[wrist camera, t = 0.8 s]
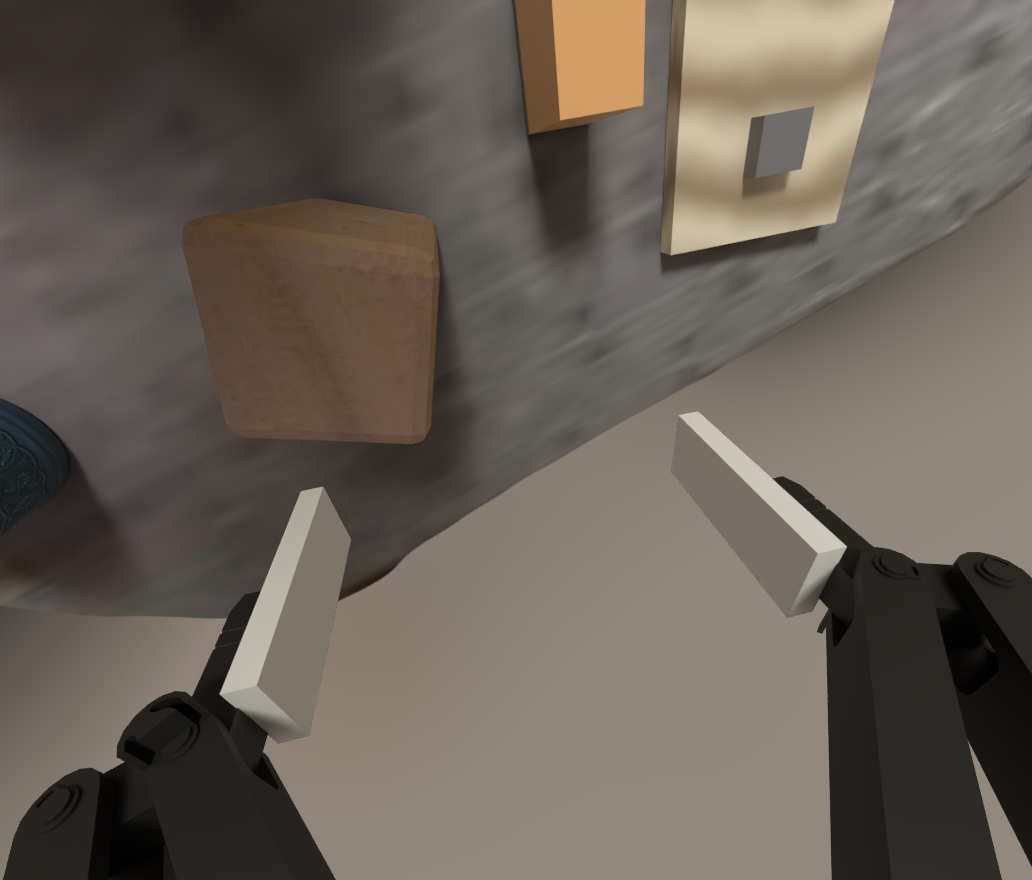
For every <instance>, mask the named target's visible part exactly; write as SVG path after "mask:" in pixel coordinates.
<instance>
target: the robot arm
mask: <svg viewBox="0 0 1032 880" xmlns="http://www.w3.org/2000/svg"><path fill="white" fill-rule="evenodd" d="M671 472H672V474H673V475H674V476H675V477H676V479H677V480H678V481H679V482H680V484H681V485H682V486H683V487H684V489H685V490H686V491H687V493H688V494H689V495H690V496H691V498H692V499H693V500H694V501H695V503H696V504H697V505H698V506H699V508H700V509H701V510H702V511H703V513H704V514H705V515H706V516H707V518H708V519H709V520H710V521H711V523H712V524H713V525H714V526H715V528H716V529H717V530H718V531H719V533H720V534H721V535H722V537H723V538H724V539H725V540H726V542H727V543H728V544H729V545H730V547H731V548H732V549H733V550H734V552H735V553H736V554H737V555H738V557H739V558H740V559H741V560H742V562H743V563H744V564H745V565H746V567H747V568H748V569H749V570H750V572H751V573H752V574H753V575H754V577H755V578H756V579H757V581H758V582H759V583H760V584H761V586H762V587H763V588H764V589H765V591H766V592H767V593H768V594H769V596H770V597H771V598H772V599H773V601H774V602H775V603H776V604H777V605H778V607H779V608H780V609H781V611H782V612H783V613H784V614H785V616H786V617H787V618H788V617H792V616H796V615H800V614H804V613H808V612H812V611H813V609H814V607H815V605H816V604H817V602H818V600H819V599H820V600H821V601H822V602H823V603H824V604H825V605H826V606H827V607H828V611H827V613H826V614H825V616H824V618H823V620H822V621H821V623H820V625H819V628H818V631H817V632H819V633H821V634H822V633H823V631H824V629H825V628H826V648H827V690H828V691H827V692H828V735H829V777H830V778H829V780H830V820H831V822H830V823H831V865H832V866H831V868H832V880H1002V878H1001V874H1000V870H999V866H998V862H997V858H996V854H995V850H994V846H993V842H992V838H991V834H990V829H989V825H988V821H987V817H986V813H985V809H984V805H983V801H982V797H981V793H980V789H979V785H978V780H977V776H976V772H975V768H974V764H973V760H972V756H971V752H970V748H969V744H968V741H969V743H970V745H971V747H972V749H973V751H974V753H975V755H976V757H977V759H978V761H979V763H980V765H981V767H982V769H983V771H984V773H985V775H986V777H987V779H988V781H989V783H990V785H991V787H992V789H993V790H994V792H995V795H996V797H997V799H998V800H999V802H1000V805H1001V806H1002V809H1003V810H1004V812H1005V814H1006V816H1007V818H1008V820H1009V822H1010V824H1011V826H1012V828H1013V830H1014V832H1015V834H1016V836H1017V838H1018V840H1019V842H1020V844H1021V846H1022V848H1023V850H1024V852H1025V854H1026V856H1027V858H1028V860H1029V862H1030V864H1031V866H1032V578H1031V577H1030V576H1029V575H1028V574H1027V573H1026V572H1025V571H1024V570H1022V569H1021V568H1019V567H1017V566H1016V565H1014V564H1012V563H1011V562H1009V561H1007V560H1004V559H1002V558H999V557H997V556H993V555H989V554H985V553H981V552H967V553H965V554H962V555H960V556H959V557H958V558H957V560H956V561H955V562H954V564H953V565H941V564H925V563H916V562H915V561H914V560H911V559H910V558H908V557H907V556H905V555H903V554H901V553H898V552H896V551H893V550H890V549H885V548H878V547H873V546H872V545H870V544H869V543H868V542H867V541H866V540H864V539H863V538H862V537H861V536H860V535H858V534H857V533H856V532H855V531H854V530H853V529H851V528H850V527H849V526H848V525H847V524H846V523H845V522H843V521H842V520H841V519H840V518H839V517H838V516H836V515H835V514H834V513H833V512H832V511H830V510H829V509H826V506H825V505H823V504H822V503H821V502H820V501H819V500H816V499H815V497H814V496H813V495H812V494H810V493H809V492H808V491H807V490H806V489H805V488H804V487H802V486H801V485H799V484H797V483H795V482H793V481H791V480H789V479H787V478H785V477H783V476H782V477H778V478H773V479H772V478H770V476H769V475H767V474H766V473H765V472H764V471H763V470H762V469H761V468H760V467H759V466H757V465H756V464H755V463H754V462H753V461H752V460H751V459H750V458H749V457H748V456H746V455H745V454H744V453H743V452H742V451H741V450H740V449H739V448H738V447H737V446H735V445H734V444H733V443H732V442H731V441H730V440H729V439H728V438H727V437H725V436H724V435H723V434H722V433H721V432H720V431H719V430H718V429H717V428H716V427H714V426H713V425H712V424H711V423H710V422H709V421H708V420H706V418H704V417H703V416H702V415H701V414H700V413H699V412H693V413H688V414H683V415H679V416H678V423H677V431H676V438H675V446H674V453H673V461H672V468H671ZM350 542H351V539H350V537H349V535H348V533H347V531H346V529H345V527H344V525H343V523H342V521H341V519H340V518H339V516H338V514H337V512H336V510H335V508H334V506H333V504H332V502H331V500H330V498H329V496H328V495H327V493H326V491H325V489H324V487H319V488H314V489H309V490H304V491H301V493H300V495H299V498H298V500H297V502H296V505H295V507H294V510H293V512H292V515H291V517H290V520H289V522H288V525H287V527H286V530H285V532H284V535H283V537H282V540H281V542H280V545H279V547H278V550H277V552H276V555H275V557H274V560H273V562H272V565H271V567H270V570H269V572H268V575H267V577H266V580H265V582H264V585H263V587H262V590H261V591H259V592H254V593H250V594H245V595H244V596H243V597H242V599H241V600H240V601H239V602H238V603H237V605H236V606H235V607H234V608H233V609H232V611H231V612H230V614H229V616H228V618H227V620H226V623H225V625H224V627H223V629H222V634H220V636H219V639H218V641H217V643H216V645H215V650H213V652H212V654H211V656H210V658H209V660H208V662H207V665H206V667H205V669H204V671H203V674H202V676H201V678H200V680H199V682H198V685H197V687H196V689H195V691H194V694H193V696H192V697H191V696H190V695H189V694H188V693H186V692H179V691H175V692H172V693H168V694H165V695H162V696H161V697H159V698H157V699H156V700H154V701H153V702H151V703H150V704H148V705H147V706H146V707H145V708H144V709H142V710H141V711H140V712H139V713H138V714H137V715H136V716H135V717H134V718H133V719H132V721H131V722H130V723H129V725H128V726H127V727H126V729H125V730H124V731H123V734H122V736H121V738H120V740H119V742H118V745H117V758H119V759H121V760H123V761H125V762H124V763H122V764H120V765H119V766H117V767H115V768H113V769H111V770H109V771H107V772H106V773H104V774H103V773H101V772H99V771H97V770H95V769H93V768H85V769H79V770H77V771H74V772H72V773H70V774H68V775H66V776H64V777H63V778H61V779H60V780H59V781H57V782H56V783H55V784H53V785H52V786H51V787H49V788H48V789H47V790H46V791H45V792H44V793H43V794H42V795H41V796H40V797H39V798H38V799H37V800H36V801H35V802H34V803H33V805H32V806H31V807H30V809H29V810H28V811H27V813H26V814H25V816H24V817H23V819H22V820H21V822H20V824H19V827H18V829H17V831H16V833H15V836H14V838H13V842H12V846H11V850H10V854H9V858H8V862H7V866H6V870H5V874H4V878H3V880H336V879H335V877H334V876H333V874H332V872H331V870H330V868H329V867H328V865H327V863H326V861H325V859H324V858H323V856H322V854H321V852H320V851H319V849H318V847H317V845H316V843H315V841H314V839H313V838H312V836H311V834H310V832H309V830H308V829H307V827H306V825H305V823H304V822H303V820H302V818H301V816H300V814H299V812H298V810H297V809H296V807H295V805H294V803H293V802H292V800H291V798H290V796H289V794H288V792H287V790H286V789H285V787H284V785H283V783H282V781H281V780H280V778H279V776H278V774H277V772H276V771H275V769H274V767H273V765H272V763H271V762H270V760H269V758H268V756H267V755H266V754H265V753H263V749H264V745H265V742H266V738H267V735H269V736H270V737H271V738H272V739H273V740H275V741H276V742H277V743H283V742H287V741H291V740H294V739H299V738H302V737H307V736H309V734H310V728H311V725H312V720H313V715H314V710H315V706H316V701H317V696H318V692H319V687H320V683H321V678H322V673H323V668H324V664H325V659H326V654H327V650H328V645H329V640H330V635H331V630H332V626H333V621H334V617H335V612H336V608H337V603H338V598H339V594H340V589H341V584H342V579H343V575H344V570H345V565H346V561H347V556H348V551H349V547H350ZM967 739H968V740H967Z"/></svg>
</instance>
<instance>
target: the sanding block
mask: <svg viewBox="0 0 1032 880" xmlns="http://www.w3.org/2000/svg"><path fill="white" fill-rule="evenodd" d="M512 3H513V12H514V22H515V31H516V40H517V49H518V59H519V68H520V77H521V86H522V96H523V105H524V114H525V123H526V133H527V135H532V134H537V133H543V132H548V131H554V130H560V129H565V128H571V127H576V126H582V125H587V124H591V123H594V122H597V121H600V120H603V119H605V118H608V117H611V116H614V115H617V114H620V113H623V112H626V111H629V110H632V109H635V108H638V107H640V106H643V85H644V40H645V0H512Z"/></svg>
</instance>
